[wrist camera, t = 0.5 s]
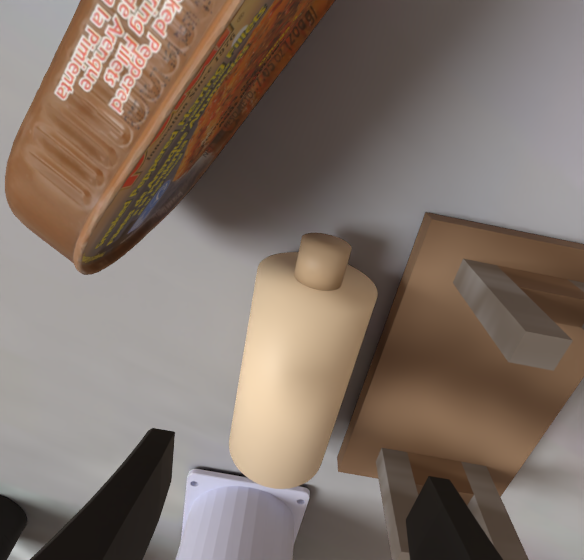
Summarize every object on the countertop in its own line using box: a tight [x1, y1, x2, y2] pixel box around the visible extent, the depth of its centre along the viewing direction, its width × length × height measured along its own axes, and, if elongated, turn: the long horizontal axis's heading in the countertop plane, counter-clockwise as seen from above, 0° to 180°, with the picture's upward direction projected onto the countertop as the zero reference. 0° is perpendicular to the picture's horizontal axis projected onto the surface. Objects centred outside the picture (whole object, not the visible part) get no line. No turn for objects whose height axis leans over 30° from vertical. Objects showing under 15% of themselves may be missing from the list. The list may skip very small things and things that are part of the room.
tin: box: [5, 0, 335, 275], centre depth 11 cm, size 15×3×8 cm, turn 139°
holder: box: [337, 212, 584, 560], centre depth 18 cm, size 16×10×6 cm, turn 169°
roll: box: [229, 233, 378, 489], centre depth 18 cm, size 13×5×5 cm, turn 169°
